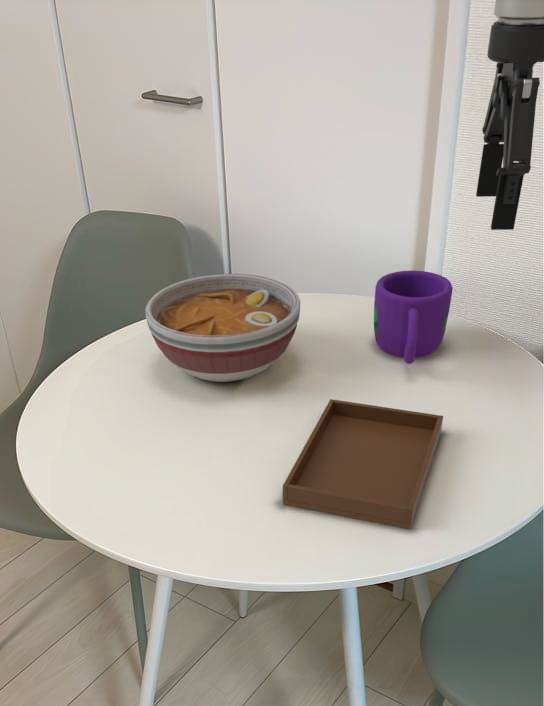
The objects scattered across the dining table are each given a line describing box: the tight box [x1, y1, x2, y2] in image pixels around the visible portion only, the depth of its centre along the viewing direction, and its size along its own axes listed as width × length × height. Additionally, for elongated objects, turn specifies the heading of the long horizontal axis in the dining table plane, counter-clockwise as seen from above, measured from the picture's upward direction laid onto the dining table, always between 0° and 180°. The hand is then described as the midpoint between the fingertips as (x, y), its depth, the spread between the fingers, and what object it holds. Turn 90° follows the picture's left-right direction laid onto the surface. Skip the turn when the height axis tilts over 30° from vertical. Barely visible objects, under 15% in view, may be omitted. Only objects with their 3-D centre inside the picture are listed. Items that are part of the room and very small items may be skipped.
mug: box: [373, 269, 453, 365], centre depth 114 cm, size 17×11×10 cm, turn 171°
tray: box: [282, 398, 444, 530], centre depth 94 cm, size 15×21×3 cm
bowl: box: [145, 273, 301, 383], centre depth 114 cm, size 23×23×10 cm
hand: (493, 211), depth 101 cm, fingers open, 13 cm apart
